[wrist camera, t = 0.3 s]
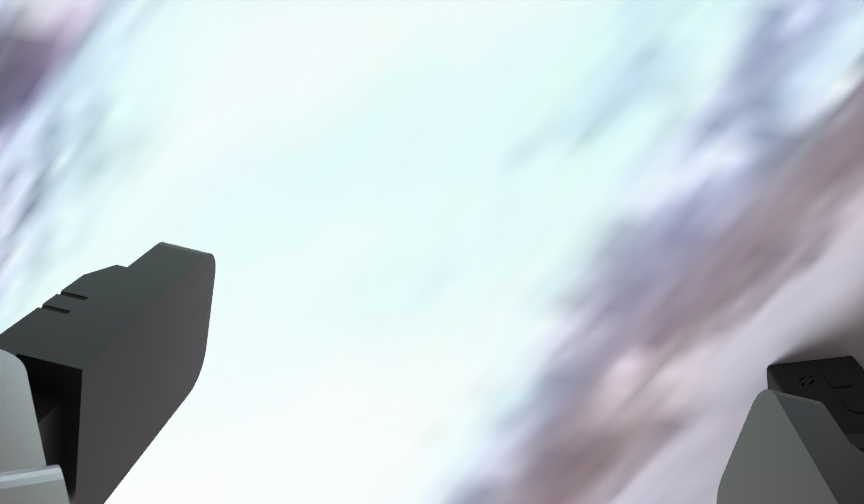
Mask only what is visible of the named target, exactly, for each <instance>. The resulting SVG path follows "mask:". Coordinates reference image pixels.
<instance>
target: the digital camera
mask: <svg viewBox="0 0 864 504" xmlns="http://www.w3.org/2000/svg"><path fill="white" fill-rule="evenodd" d="M800 379H803V380H802V381H800V382H798V381H799V380H800ZM814 379H815V381H814V382H813V383H812V384H811V385H808V384H809V383H810V382H811V381H812V380H814ZM767 381H768V389H769V390H773V391H777V392H781V393H785V394H789V395H793V396H798V397H802V398H806V399H810V400H814V401H818V402H821V403H823V404H824V406H825V407H826V408H827V410H828V411H829V413H830V414H831V416H832V417H833V419H834V420H835V421H836V423H837V424H838V426H839V427H840V429H841V430H842V432H843V433H844V435H845V436H846V438H847V439H848V441H849V442H850V444H852V445H854V446H856V447H857V448H858V449H859V450H860V451H861V452H863V453H864V369H863V368H862V367H861V366H860V365H859V363H858V362H857V361H856V360H855V359H854V358H853V356H846V357H838V358H829V359H820V360H812V361H803V362H794V363H785V364H776V365H770V366H768V368H767ZM802 383H805V384H804V385H802V386H801V384H802Z"/></svg>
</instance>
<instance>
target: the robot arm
mask: <svg viewBox="0 0 864 504" xmlns="http://www.w3.org/2000/svg"><path fill="white" fill-rule="evenodd" d="M214 278H215V259H214V256H213V255H212V254H210V253H206V252H202V251H197V250H193V249H189V248H185V247H181V246H177V245H173V244H168V243H164V242H160V243H158V244H157V245H156V246H154V247H153V248H152V249H150V250H149V251H148V252H147V253H145V254H144V255H143V256H141V257H140V258H139V259H137V260H136V261H135V262H134V263H132V264H131V265H130V266H128V267H123V266H119V265H114V266H111V267H108V268H105V269H101V270H98V271H95V272H92V273H88V274H85V275H83V276H81V277H80V278H79V279H77V280H76V281H74V282H73V283H72V284H70V285H69V286H67V287H66V288H65V289H63V290H62V291H61V294H60V295H59V294H56V295H55V296H53V297H52V298H51V299H49V300H48V301H46V302H45V303H44V304H43V306H42V308H37V309H35V310H34V311H32V312H31V313H29V314H28V315H27V316H25V317H24V318H22V319H21V320H20V321H18V322H17V323H15V324H14V325H13V326H11V327H10V328H8V329H7V330H6V331H4V332H3V333H1V334H0V504H104V503H105V502H106V500H107V499H108V498H109V496H110V495H111V494H112V492H113V491H114V490H115V489H116V487H117V486H118V485H119V483H120V482H121V481H122V480H123V478H124V477H125V476H126V474H127V473H128V472H129V471H130V469H131V468H132V467H133V465H134V464H135V463H136V462H137V460H138V459H139V458H140V456H141V455H142V454H143V452H144V451H145V450H146V449H147V447H148V446H149V445H150V443H151V442H152V441H153V440H154V438H155V437H156V436H157V434H158V433H159V432H160V431H161V429H162V428H163V427H164V425H165V424H166V423H167V421H168V420H169V419H170V418H171V416H172V415H173V414H174V412H175V411H176V410H177V409H178V407H179V406H180V405H181V403H182V402H183V401H184V400H185V398H186V397H187V396H188V394H189V393H190V392H191V390H192V389H193V387H194V385H195V383H196V381H197V379H198V376H199V374H200V371H201V368H202V365H203V361H204V357H205V352H206V345H207V336H208V328H209V320H210V312H211V303H212V295H213V287H214ZM717 504H864V453H863V452H861V451H860V450H859V449H858V448H857V447H856V446H854V445H852V444H850V442H849V441H848V439H847V438H846V436H845V435H844V433H843V432H842V430H841V429H840V427H839V426H838V424H837V423H836V421H835V420H834V419H833V417H832V416H831V414H830V413H829V411H828V410H827V408H826V407H825V406H824V404H823V403H821V402H818V401H814V400H810V399H806V398H802V397H798V396H793V395H789V394H785V393H781V392H777V391H773V390H769V389H767V390H764V391H762V392H761V393H760V394H759V395H758V396H757V397H756V399H755V401H754V402H753V405H752V407H751V409H750V411H749V414H748V416H747V419H746V421H745V423H744V426H743V428H742V430H741V433H740V435H739V438H738V440H737V442H736V445H735V447H734V450H733V452H732V454H731V457H730V459H729V461H728V464H727V466H726V469H725V471H724V473H723V476H722V478H721V481H720V485H719V489H718V495H717Z"/></svg>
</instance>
